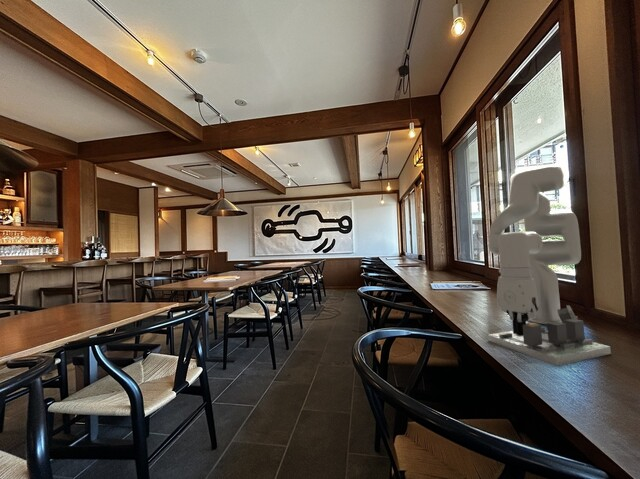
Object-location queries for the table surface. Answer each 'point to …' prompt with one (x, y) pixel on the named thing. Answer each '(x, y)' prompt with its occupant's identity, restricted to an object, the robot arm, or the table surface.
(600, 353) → the panel
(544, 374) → the table surface
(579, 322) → the handle near
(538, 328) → the orange striped slider handle
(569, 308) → the electrical switch
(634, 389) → the table surface
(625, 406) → the table surface
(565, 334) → the handle middle
